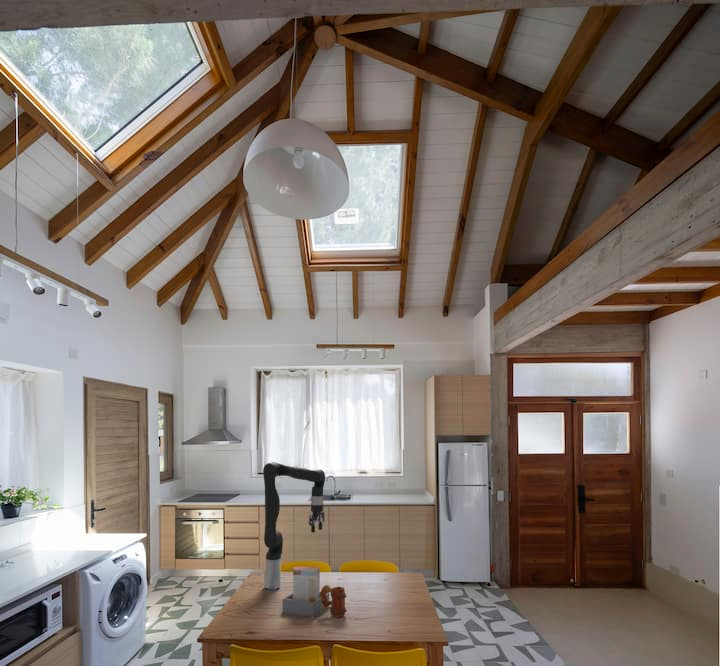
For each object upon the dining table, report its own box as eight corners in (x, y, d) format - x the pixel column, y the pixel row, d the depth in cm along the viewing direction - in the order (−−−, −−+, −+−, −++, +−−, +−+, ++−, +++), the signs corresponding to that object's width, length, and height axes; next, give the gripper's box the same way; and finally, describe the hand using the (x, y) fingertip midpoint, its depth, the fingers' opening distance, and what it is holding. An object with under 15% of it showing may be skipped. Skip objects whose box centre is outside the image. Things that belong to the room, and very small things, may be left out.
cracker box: (319, 606, 309) (320, 566, 312) (317, 609, 303) (318, 569, 306) (295, 604, 311) (295, 565, 314) (292, 608, 305) (293, 568, 308)
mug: (349, 614, 299) (349, 585, 301) (343, 620, 291) (343, 589, 294) (323, 611, 304) (324, 582, 306) (317, 616, 296) (318, 586, 298)
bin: (282, 612, 303) (282, 598, 304) (300, 601, 319) (300, 588, 320) (312, 617, 295) (312, 603, 296) (329, 606, 311) (329, 593, 312)
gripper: (317, 501, 349) (317, 528, 347) (305, 504, 337) (305, 532, 335) (328, 502, 346) (327, 529, 344) (316, 505, 333) (316, 534, 331)
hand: (316, 531), depth 339 cm, fingers open, 8 cm apart
